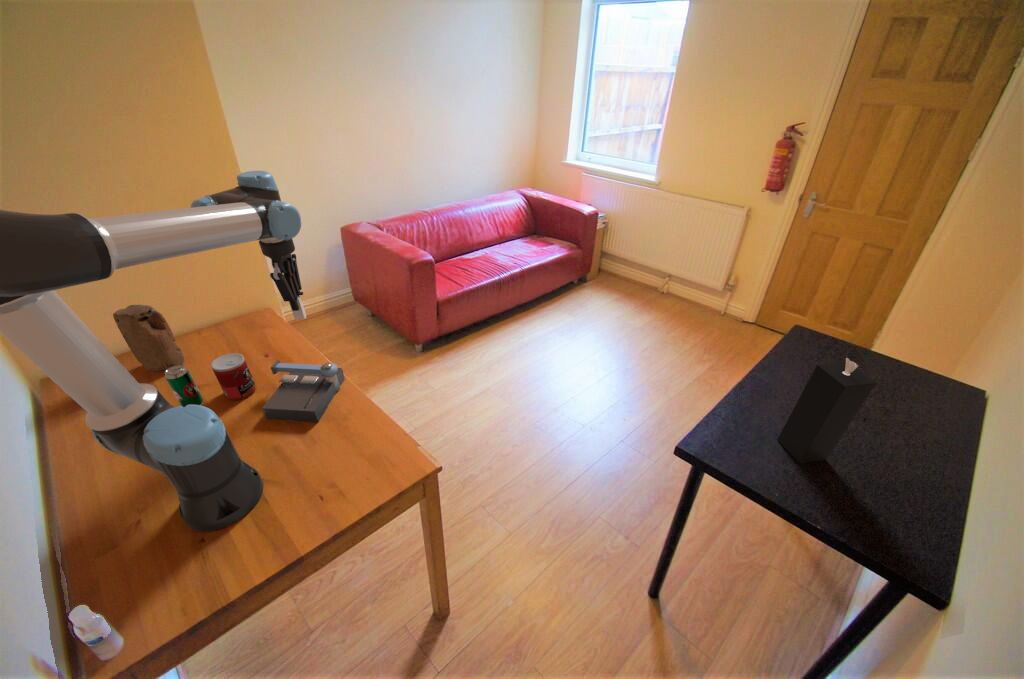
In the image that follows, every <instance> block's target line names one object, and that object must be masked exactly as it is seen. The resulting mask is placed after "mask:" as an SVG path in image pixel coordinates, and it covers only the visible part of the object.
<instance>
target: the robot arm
mask: <svg viewBox="0 0 1024 679" xmlns="http://www.w3.org/2000/svg"><path fill="white" fill-rule="evenodd" d="M236 180H237V183H236V184H237V185H238V186H235V187H233V188H231V189H227V190H223V191H219V192H216V193H215V192H214V193H212V194H206V195H204V196H203V197H200V198H198V199H195V200H193V201H192V202H191V204H190V207H185V208H177V209H167V210H159V211H150V212H149V211H148V212H142V213H141V212H139V213H131V214H124V215H123V214H121V215H114V216H113V215H112V216H103V217H94V218H90V217H87V216H86V215H84V214H82V213H79V212H70V213H59V214H58V213H57V214H56V213H55V214H51V213H49V214H43V213H42V214H40V213H27V212H20V211H19V212H18V211H9V210H4V209H0V335H1V336H3V338H5V339H6V340H7V341H8V342H9V343H10V344H12V345H13V346H14V348H16V349H17V350H18V351H19V352H21V353H22V354H23V356H24V357H26V358H27V359H28V360H30V362H31V363H32V364H34V365H35V366H36V367H37V368H38V369H39V370H40V371H41V372H43V374H44V375H45V376H47V377H48V378H49V379H50V380H51V381H53V382H54V384H55V385H57V386H58V387H59V388H60V389H61V390H63V392H64V393H65V394H67V395H68V396H69V397H70V398H71V399H72V400H73V401H74V402H75V403H77V404H78V405H79V406H80V407H81V408H82V409H83V410H85V411H86V412H87V413H86V415H85V419H84V421H85V424H86V426H87V427H88V428H89V429H90V430H91V434H92V436H93V438H94V439H95V441H97V443H98V444H99V445H100V446H102V447H103V448H104V449H106V450H107V451H109V452H111V453H114V454H117V455H121V456H123V457H125V458H128V459H130V460H131V461H132V460H133V461H135V462H138V463H140V464H142V465H145V466H147V467H149V468H152V469H153V470H156V471H158V472H160V473H161V474H163V475H164V476H165V477H166V478H167V480H168V481H169V483H171V486H172V487H173V488H174V489H175V491H176V493H177V494H178V495H177V496H178V497H177V499H178V502H179V507H178V510H179V516H180V518H181V519H182V520H183V523H185V525H186V527H189V529H191V530H192V531H196V532H213V531H217V530H220V529H223V528H227V527H228V526H230V525H233V524H234V523H236V522H239V521H240V520H241V519H242V518H244V517H245V516H246V515H247V514H249V513H250V512H251V511H252V510H253V509H254V508H255V506H256V505H257V504H258V502H259V500H260V499H261V497H262V495H263V491H264V482H263V479H262V477H261V475H260V473H259V472H258V471H257V470H256V469H255V468H254V467H253V466H251V465H250V464H249V463H247V462H245V461H244V460H242V459H241V458H240V455H239V453H238V451H237V450H236V448H235V446H234V444H233V442H232V440H231V438H230V436H229V434H228V432H227V430H226V426H225V424H224V423H223V421H222V419H221V418H219V416H218V415H217V414H216V412H215V411H213V410H212V409H211V408H209V407H207V406H204V405H202V404H201V405H187V406H186V407H183V406H181V405H178V406H174V405H172V404H171V403H170V402H169V401H168V400H167V399H166V398H165V397H164V396H163V394H161V392H160V391H159V390H158V389H157V388H156V387H155V386H154V385H152V384H150V383H146V382H144V383H143V382H138V381H137V379H136V378H134V376H133V375H132V374H131V373H130V372H129V370H127V369H126V367H124V365H123V364H122V363H121V362H120V361H119V360H118V358H116V357H115V356H114V355H113V353H112V352H111V351H110V350H109V348H107V346H105V344H104V343H102V342H101V340H100V339H99V338H98V337H97V336H96V335H95V334H94V332H92V330H91V329H90V328H89V327H88V326H87V325H86V324H85V322H84V321H83V320H82V319H81V318H80V317H79V316H78V315H77V313H76V312H74V310H73V309H72V308H71V307H70V306H69V305H68V304H67V303H66V302H65V301H64V300H63V298H61V296H60V295H59V294H58V293H57V292H56V291H57V290H61V289H65V288H70V287H74V286H75V287H76V286H79V285H83V284H88V283H93V282H97V281H101V280H102V281H103V280H106V279H109V278H111V277H112V275H113V273H114V272H115V270H120V269H123V268H128V267H134V266H138V265H144V264H148V263H153V262H158V261H163V260H168V259H173V258H177V257H181V256H188V255H193V254H196V253H201V252H206V251H211V250H216V249H221V248H225V247H231V246H236V245H240V244H246V243H250V242H255V241H258V245H259V247H260V250H261V252H262V254H263V256H265V257H267V258H269V259H270V260H271V266H272V268H273V272H270V273H269V276H270V278H271V279H272V281H273V282H274V284H275V286H276V288H277V290H278V291H279V293H280V296H281V298H282V300H283V302H289V303H288V304H289V305H290V308H291V311H292V315H293V318H294V320H298V321H299V320H306V318H307V314H306V311H305V307H304V304H303V300H302V298H301V296H303V295H304V292H303V291H302V283H301V277H300V273H299V272H300V271H299V268H298V262H297V255H296V254H295V253H294V252H295V251H296V248H295V247H296V246H295V244H294V240H293V239H294V238H295V237H297V236H298V235H299V233H300V231H301V229H302V219H301V218H302V217H301V215H300V214H301V213H300V212H299V211H298V209H297V208H296V206H294V205H293V204H291V203H289V202H286V201H285V202H284V201H282V199H281V196H280V190H279V189H278V186H277V183H276V180H275V178H274V176H273V174H271V173H270V172H269V171H265V170H249V171H244V172H240V173H239V174H238V175H237V176H236Z"/></svg>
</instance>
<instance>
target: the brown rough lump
mask: <svg viewBox="0 0 1024 679" xmlns="http://www.w3.org/2000/svg"><path fill="white" fill-rule="evenodd" d="M112 317H113V319H114V322H115V324H116V326H117V328H118V329H119V332H120V334H121V336H122V338H123V339H124V341H125V342H126V345H127V346H128V348H129V350H130V351H131V352H132V354H133V356H134V357H135V358H136V360H137V362H138V363H140V364H141V365H142V366H143V367H144V368H145V369H146V370H148V371H151V372H162V371H166V370H167V369H168V368H170V367H173V366H176V365H182V364H183V363H184V362H185V356H184V354H183V352H182V350H181V348H180V346H179V345H178V343H175V342H176V339H175V335H174V333H173V331H172V329H171V327H170V325H169V323H168V322H167V320H166V318H165V317H164V316H163V314H162V313H160V311H158V310H157V309H156V308H154V307H153V306H151V305H144V304H130V305H128V306H127V307H125V308H121V309H118V310H116V311H114V312H113V314H112Z"/></svg>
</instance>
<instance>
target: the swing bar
mask: <svg viewBox="0 0 1024 679" xmlns="http://www.w3.org/2000/svg"><path fill="white" fill-rule="evenodd" d="M275 360H276V359H275ZM330 363H331V365H332V367H331V368H329V369H325V368H324V364H310V363H309V364H306V363H304V364H303V363H289V362H287V363H286V362H285V363H284V362H280V360H279V359H278V360H276V361H274V363H273V364H272V365H271V366H270V370H271V372H272V375H277V373H309V374H321V375H322V376H323V377H332V376H334V375H336V374H337V372H338V369H337V368H338V365H337V364H336V363H333V362H330Z"/></svg>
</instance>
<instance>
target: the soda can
mask: <svg viewBox="0 0 1024 679" xmlns="http://www.w3.org/2000/svg"><path fill="white" fill-rule="evenodd" d="M164 379H165V381H166V382H167V383H168V386H169V388H170V389H171V390H172V393H173V395H174V396H175V398H176V400H177V402H178V403H179V406H183V407H186V406H187V405H201V406H202V404H203V402H204V398H203V395H202V393H201V392H200V390H199V388H198V386H197V384H196V382H195V381H194V378H193V377H192V375H191V373H190V371H189V369H188V367H186V366H184V365H182V364H181V365H176V366H173V367H170V368H168V369H167V370H164Z"/></svg>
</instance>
